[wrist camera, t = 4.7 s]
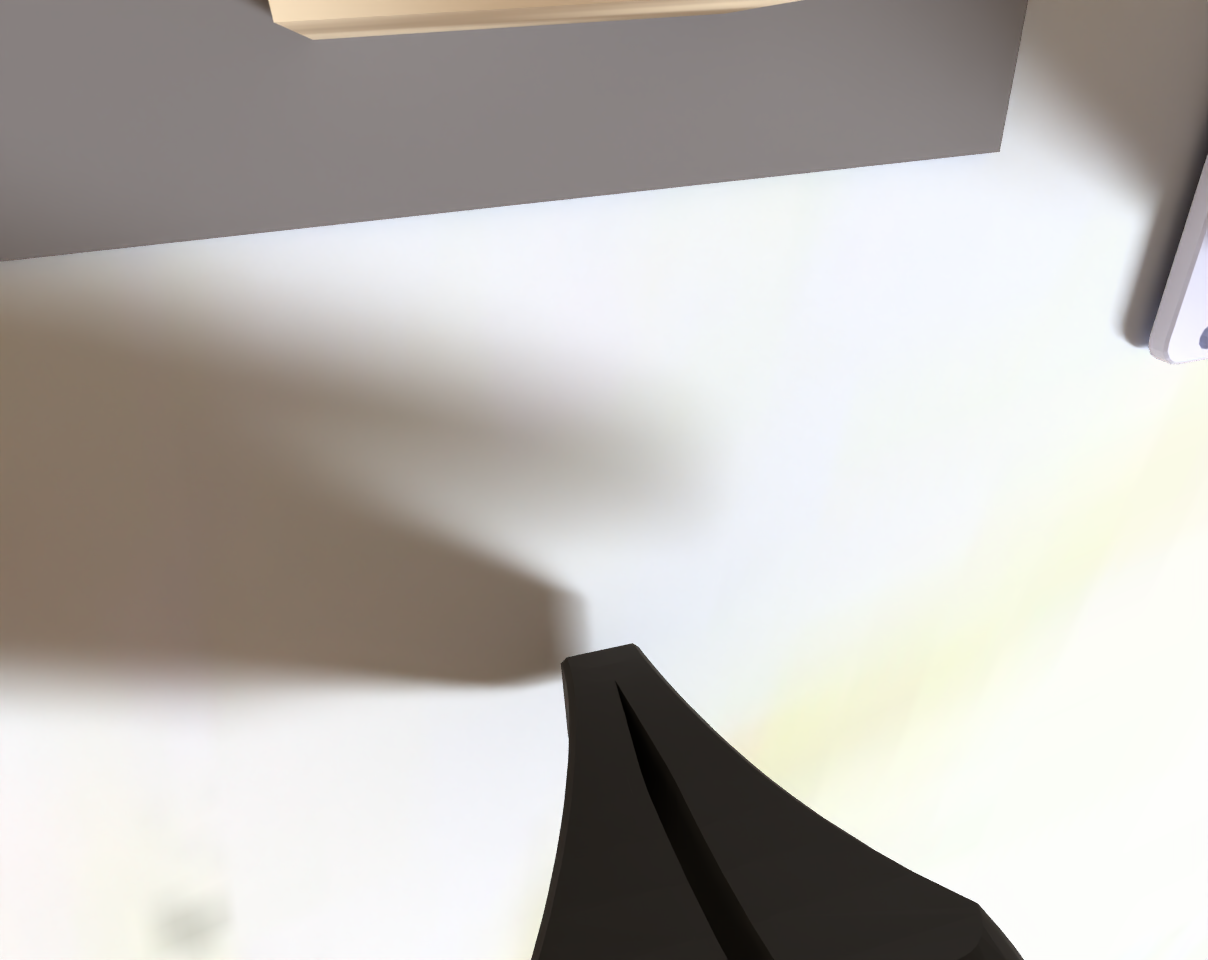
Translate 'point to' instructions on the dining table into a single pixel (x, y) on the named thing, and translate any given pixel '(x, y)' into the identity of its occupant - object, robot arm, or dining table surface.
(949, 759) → the dining table surface
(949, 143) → the mat
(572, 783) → the robot arm
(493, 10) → the beech block
